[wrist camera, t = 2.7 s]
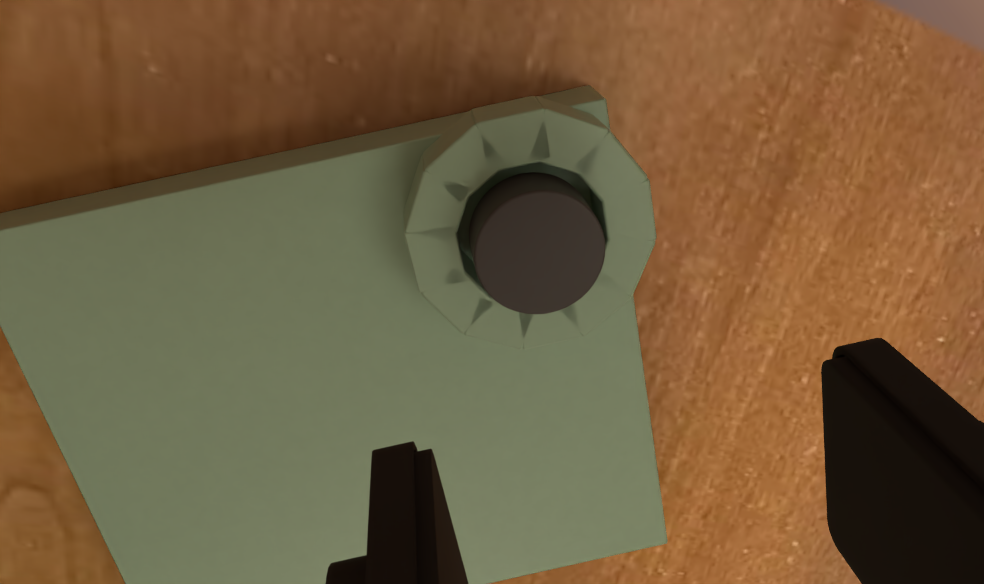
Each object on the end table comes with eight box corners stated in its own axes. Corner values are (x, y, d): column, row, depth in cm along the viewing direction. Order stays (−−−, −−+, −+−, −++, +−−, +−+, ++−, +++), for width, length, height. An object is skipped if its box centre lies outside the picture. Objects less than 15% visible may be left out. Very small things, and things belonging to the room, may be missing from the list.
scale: (604, 63, 22) (638, 87, 19) (664, 502, 28) (698, 576, 25) (-16, 198, 22) (-87, 245, 19) (175, 612, 28) (146, 701, 25)
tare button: (582, 159, 20) (596, 177, 19) (599, 274, 21) (614, 299, 20) (456, 186, 20) (461, 206, 19) (481, 300, 21) (488, 327, 20)
